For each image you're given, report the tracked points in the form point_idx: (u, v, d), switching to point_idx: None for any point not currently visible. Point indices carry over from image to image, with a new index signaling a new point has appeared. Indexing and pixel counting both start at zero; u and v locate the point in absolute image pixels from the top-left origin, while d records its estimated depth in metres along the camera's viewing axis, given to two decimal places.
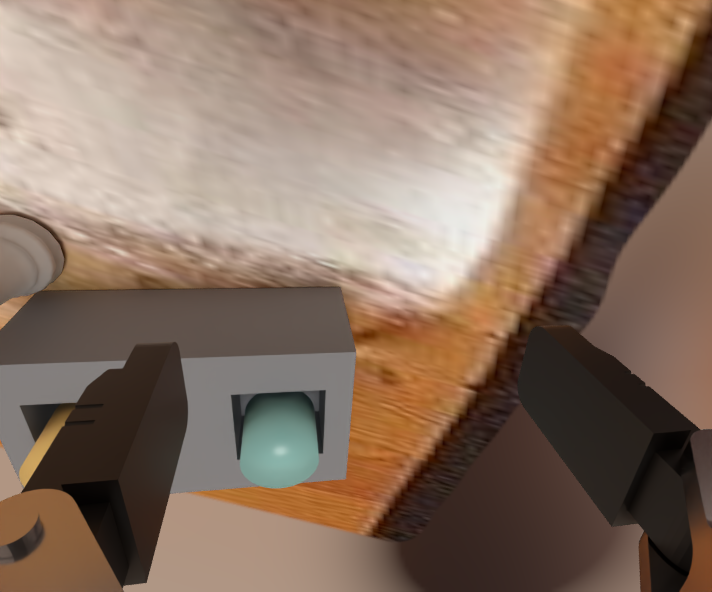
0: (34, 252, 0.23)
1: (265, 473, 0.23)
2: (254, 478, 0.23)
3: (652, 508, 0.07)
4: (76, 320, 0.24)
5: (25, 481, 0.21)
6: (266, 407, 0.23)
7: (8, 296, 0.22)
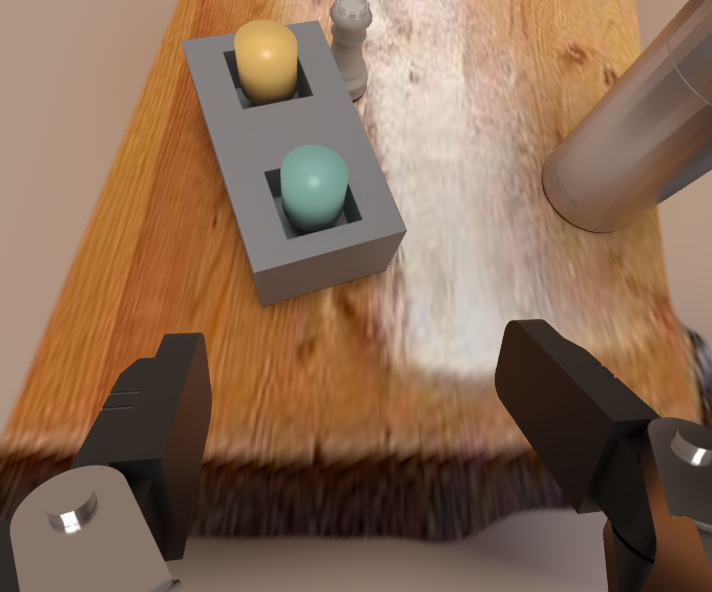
0: (358, 80, 0.38)
1: (298, 165, 0.26)
2: (290, 158, 0.26)
3: (614, 495, 0.07)
4: None
5: (258, 22, 0.29)
6: None
7: (343, 57, 0.36)
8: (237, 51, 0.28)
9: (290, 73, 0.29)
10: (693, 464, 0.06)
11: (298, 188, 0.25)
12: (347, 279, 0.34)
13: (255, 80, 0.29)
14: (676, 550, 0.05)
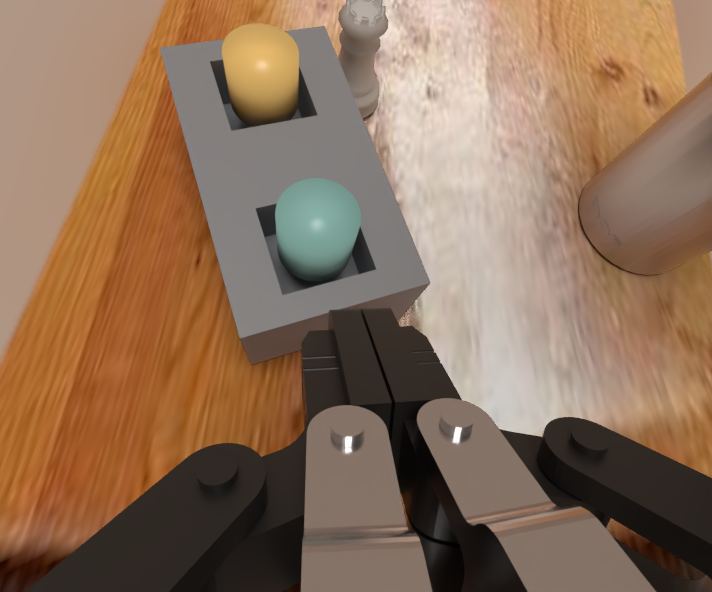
0: (369, 96, 0.33)
1: (298, 204, 0.21)
2: (288, 195, 0.21)
3: (404, 474, 0.08)
4: None
5: (252, 26, 0.24)
6: None
7: (353, 69, 0.31)
8: (226, 60, 0.23)
9: (290, 88, 0.24)
10: (441, 441, 0.06)
11: (297, 234, 0.20)
12: None
13: (247, 96, 0.24)
14: (482, 560, 0.05)
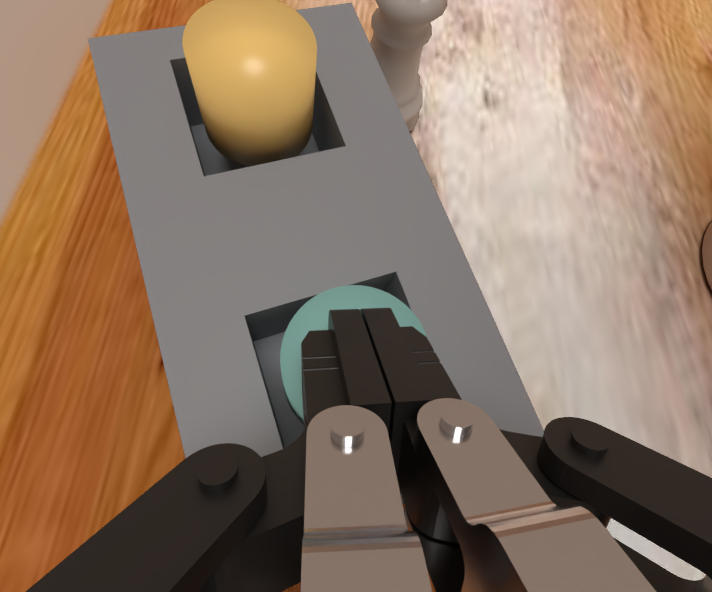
0: (410, 107, 0.23)
1: None
2: (303, 321, 0.12)
3: (404, 474, 0.08)
4: None
5: None
6: None
7: (391, 69, 0.21)
8: (189, 59, 0.13)
9: (302, 104, 0.14)
10: (442, 440, 0.06)
11: None
12: None
13: (229, 119, 0.14)
14: (483, 559, 0.05)
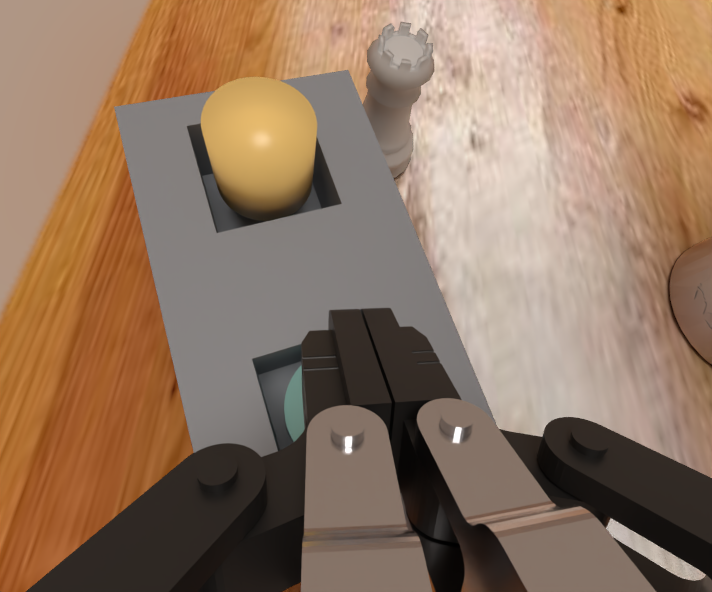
0: (402, 153, 0.25)
1: None
2: None
3: (404, 474, 0.08)
4: None
5: (247, 81, 0.16)
6: None
7: (383, 122, 0.23)
8: (206, 137, 0.15)
9: (304, 172, 0.16)
10: (441, 440, 0.06)
11: None
12: None
13: (240, 185, 0.16)
14: (483, 560, 0.05)
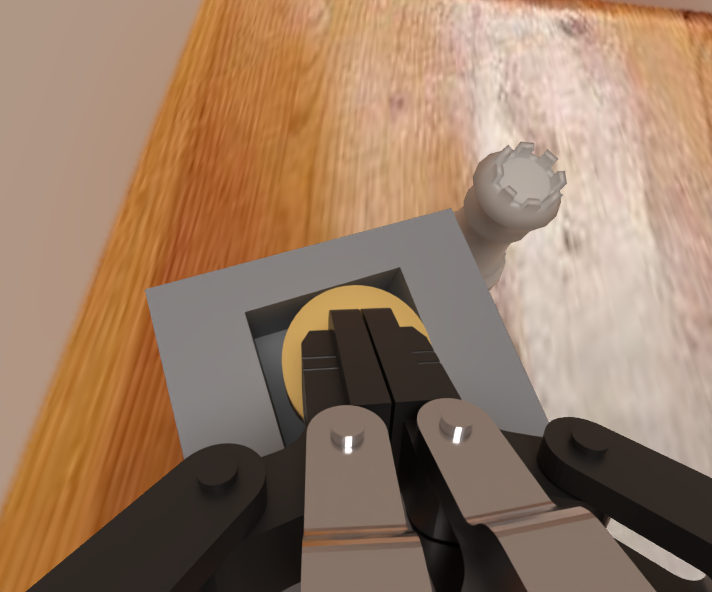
0: (494, 276, 0.20)
1: None
2: None
3: (404, 474, 0.08)
4: None
5: (337, 294, 0.12)
6: None
7: (481, 252, 0.18)
8: (291, 390, 0.11)
9: None
10: (442, 440, 0.06)
11: None
12: None
13: None
14: (482, 560, 0.05)
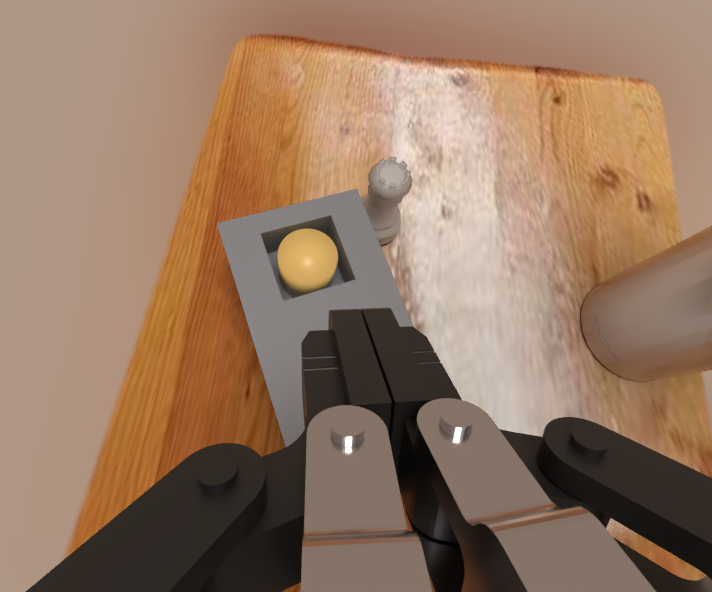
0: (392, 228, 0.37)
1: None
2: None
3: (404, 474, 0.08)
4: None
5: (300, 232, 0.30)
6: None
7: (380, 213, 0.35)
8: (281, 266, 0.29)
9: (331, 278, 0.30)
10: (441, 440, 0.06)
11: None
12: None
13: (297, 288, 0.30)
14: (482, 560, 0.05)
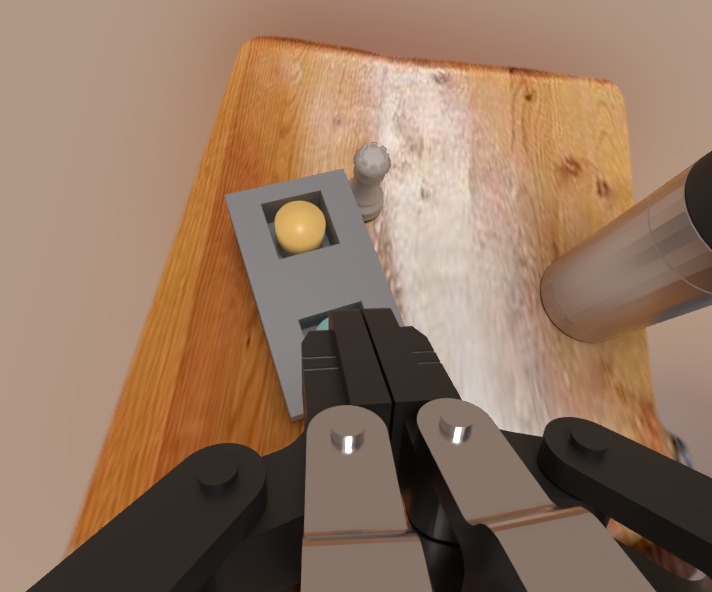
0: (376, 205, 0.42)
1: None
2: (321, 328, 0.32)
3: (404, 474, 0.08)
4: None
5: (293, 203, 0.35)
6: None
7: (364, 191, 0.40)
8: (277, 231, 0.34)
9: (319, 243, 0.36)
10: (442, 440, 0.06)
11: None
12: None
13: (291, 250, 0.35)
14: (483, 560, 0.05)
